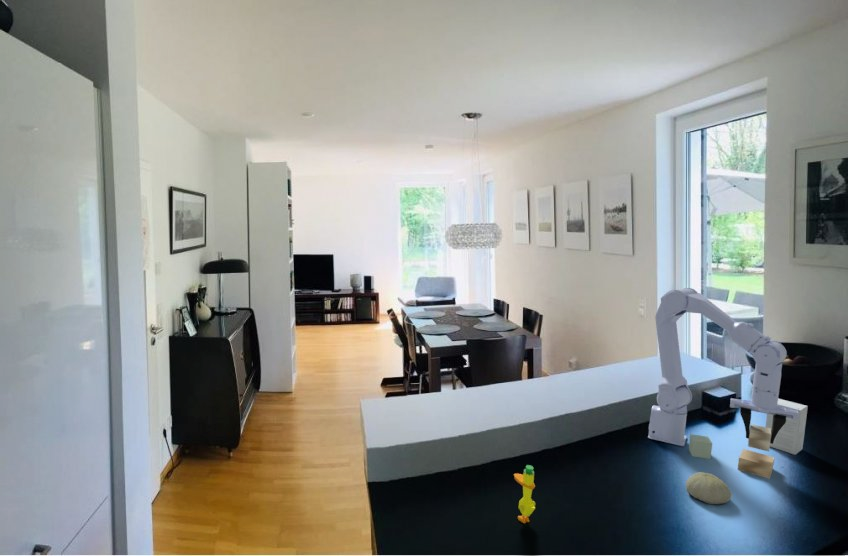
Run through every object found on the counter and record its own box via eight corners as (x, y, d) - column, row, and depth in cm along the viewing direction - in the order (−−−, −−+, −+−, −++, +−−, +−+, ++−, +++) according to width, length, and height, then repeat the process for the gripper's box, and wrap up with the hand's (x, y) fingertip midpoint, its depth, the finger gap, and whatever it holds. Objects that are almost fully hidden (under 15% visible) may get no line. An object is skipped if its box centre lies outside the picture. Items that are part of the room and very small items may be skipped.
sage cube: (692, 456, 141) (693, 440, 141) (688, 449, 146) (690, 434, 145) (710, 459, 140) (712, 443, 140) (706, 452, 144) (708, 436, 144)
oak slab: (737, 470, 135) (739, 457, 134) (741, 461, 140) (743, 448, 140) (769, 479, 131) (771, 466, 130) (772, 470, 136) (774, 457, 136)
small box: (802, 449, 149) (808, 405, 147) (795, 455, 145) (801, 410, 143) (770, 439, 155) (775, 397, 153) (762, 444, 151) (768, 401, 149)
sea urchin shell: (724, 481, 125) (732, 469, 119) (727, 515, 120) (736, 505, 114) (682, 473, 127) (688, 461, 121) (683, 506, 123) (690, 496, 117)
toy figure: (506, 513, 110) (509, 459, 109) (519, 509, 112) (522, 456, 111) (527, 530, 105) (531, 474, 103) (540, 525, 106) (544, 470, 105)
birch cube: (748, 446, 134) (750, 429, 133) (748, 440, 138) (750, 424, 137) (768, 451, 131) (771, 434, 131) (768, 445, 135) (770, 428, 135)
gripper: (732, 386, 133) (726, 437, 135) (802, 399, 126) (794, 452, 127) (732, 380, 139) (727, 428, 141) (799, 391, 132) (792, 442, 133)
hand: (759, 439), depth 134 cm, fingers closed on birch cube, 4 cm apart
